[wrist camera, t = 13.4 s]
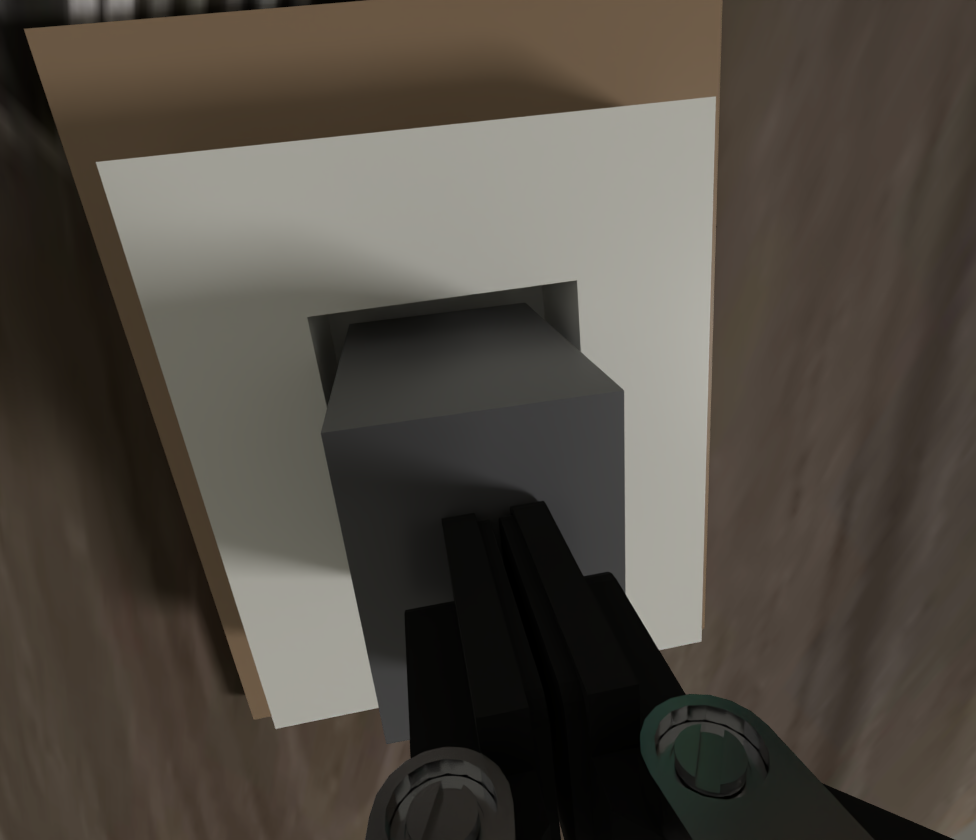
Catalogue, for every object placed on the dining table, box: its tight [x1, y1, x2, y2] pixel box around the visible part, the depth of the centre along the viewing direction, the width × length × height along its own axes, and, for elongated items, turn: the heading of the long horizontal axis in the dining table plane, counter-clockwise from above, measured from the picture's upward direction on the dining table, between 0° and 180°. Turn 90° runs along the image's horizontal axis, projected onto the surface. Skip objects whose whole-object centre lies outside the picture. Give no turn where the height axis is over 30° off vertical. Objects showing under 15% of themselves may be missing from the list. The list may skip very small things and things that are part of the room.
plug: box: [321, 303, 626, 744], centre depth 14 cm, size 6×4×8 cm
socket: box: [24, 0, 722, 729], centre depth 16 cm, size 20×16×5 cm
